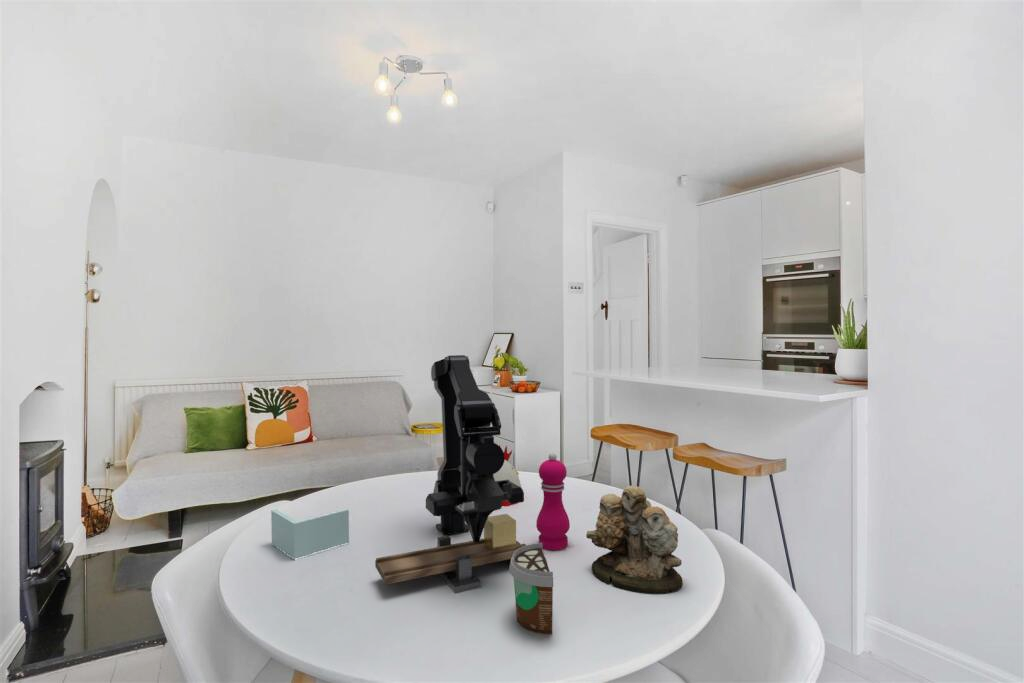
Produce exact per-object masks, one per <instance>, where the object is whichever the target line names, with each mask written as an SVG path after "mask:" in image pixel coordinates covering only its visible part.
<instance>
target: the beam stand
mask: <svg viewBox="0 0 1024 683" xmlns="http://www.w3.org/2000/svg"><path fill="white" fill-rule="evenodd" d="M436 543H437V545H436V547H440V546H446V545H451V544H452V537H451V536H450V535H444V536H440V537H437V538H436ZM503 561H504V562H505V563H506V565H508V566H510V562H511V559H507V560H503ZM439 575H440V576H441V578H442V579H443V578H444V579H443V580H444V582H446V584H447V583H448V584H449V585H448V584H447V585H448V586H449V587H450V589H451V590H452V589H453V590H452V591H453V592H454V593H455V594H457V593H461V592H465V591H469V590H474V589H478V588H482V581H481V580H480V578H478V576H477V575H476V574H475V573H474V572H473V571H472V567H471V557H470V556H469V555H467V556H462V557H457V558H456V570H454V571H449V572H444V573H439Z"/></svg>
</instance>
